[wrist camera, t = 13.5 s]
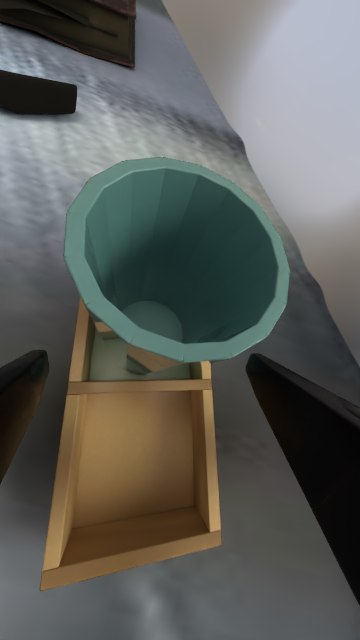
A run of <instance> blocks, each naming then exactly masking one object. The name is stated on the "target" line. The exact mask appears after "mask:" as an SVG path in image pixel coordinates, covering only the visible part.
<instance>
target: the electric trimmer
mask: <svg viewBox="0 0 360 640" xmlns="http://www.w3.org/2000/svg"><path fill="white" fill-rule="evenodd" d="M76 100H77V86H76V85H74V84H68V83H63V82H58V81H53V80H48V79H43V78H38V77H32V76H27V75H22V74H17V73H12V72H8V71H3V70H0V107H6V108H8V109H10V110H11V111H13V112H15V113H17V114H72V113H74V112H75V109H76Z"/></svg>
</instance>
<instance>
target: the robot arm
mask: <svg viewBox="0 0 360 640" xmlns="http://www.w3.org/2000/svg"><path fill="white" fill-rule="evenodd" d="M246 372H247V375H248V377H249V380H250V383H251V385H252V388H253V390H254V393H255V396H256V398H257V400H258V402H259V404H260V406H261V408H262V410H263V412H264V414H265V416H266V418H267V420H268V423H269V425H270V427H271V429H272V431H273V433H274V435H275V437H276V439H277V441H278V443H279V445H280V447H281V449H282V451H283V453H284V455H285V457H286V459H287V461H288V463H289V465H290V467H291V469H292V471H293V473H294V475H295V477H296V479H297V481H298V483H299V485H300V487H301V489H302V491H303V493H304V495H305V497H306V499H307V501H308V503H309V505H310V507H311V509H312V511H313V513H314V515H315V517H316V519H317V521H318V523H319V525H320V527H321V529H322V531H323V533H324V535H325V537H326V539H327V541H328V543H329V545H330V548H331V550H332V552H333V554H334V556H335V558H336V560H337V562H338V564H339V566H340V568H341V570H342V572H343V574H344V576H345V578H346V580H347V582H348V584H349V586H350V588H351V590H352V592H353V594H354V596H355V598H356V600H357V601H358V603H359V605H360V408H359V407H358V406H356V405H354V404H352V403H350V402H348V401H346V400H344V399H343V398H341V397H339V396H336V395H335V394H333V393H331V392H330V391H328V390H326V389H324V388H322V387H320V386H319V385H317V384H315V383H313V382H311V381H309V380H308V379H306V378H304V377H302V376H300V375H298V374H296V373H295V372H293V371H291V370H289V369H287V368H285V367H284V366H282V365H280V364H278V363H276V362H274V361H273V360H271V359H269V358H267V357H265V356H263V355H262V354H258V353H253V354H251V355H250V357H249V360H248V362H247V365H246ZM48 373H49V362H48V356H47V352H46V351H45V350H32V351H30V352H29V353H27V354H25V355H23V356H21V357H19V358H18V359H16V360H14V361H12V362H10V363H8V364H6V365H5V366H3V367H1V368H0V484H1V482H2V480H3V478H4V476H5V474H6V472H7V470H8V467H9V465H10V463H11V461H12V459H13V457H14V455H15V453H16V451H17V449H18V447H19V444H20V442H21V440H22V438H23V436H24V434H25V432H26V430H27V428H28V426H29V424H30V421H31V419H32V417H33V415H34V413H35V411H36V408H37V405H38V403H39V400H40V397H41V394H42V391H43V388H44V385H45V382H46V379H47V376H48Z"/></svg>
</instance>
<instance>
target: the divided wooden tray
mask: <svg viewBox="0 0 360 640" xmlns="http://www.w3.org/2000/svg"><path fill="white" fill-rule="evenodd" d="M211 389H212V386H211V368H210V363H207V364H203V365H198V366H193V367H188V368H183V369H178V370H174V371H169V372H164V373H159V374H149V375H141V374H137V373H134V372H131V371H128V370H127V369H125V368H124V367H122V366H121V365H120V364H119V363H118V362H117V361H116V360H115V359H114V358H113V357H112V355H111V353H110V351H109V349H108V348H107V346H106V344H105V342H104V340H103V338H102V337H101V335H100V333H99V331H98V329H97V327H96V326H95V324H94V322H93V320H92V318H91V316H90V315H89V313H88V311H87V309H86V307H85V305H84V303H83V301H82V299H81V297H80V302H79V310H78V317H77V324H76V331H75V338H74V346H73V353H72V360H71V367H70V374H69V383H68V389H67V394H68V395H67V396H66V403H65V411H64V418H63V425H62V432H61V439H60V447H59V454H58V461H57V468H56V475H55V483H54V490H53V497H52V504H51V511H50V519H49V526H48V533H47V540H46V547H45V555H44V562H43V571H42V576H41V583H40V591H44V590H48V589H52V588H56V587H60V586H64V585H68V584H71V583H75V582H79V581H83V580H87V579H91V578H95V577H99V576H103V575H107V574H111V573H115V572H118V571H122V570H126V569H130V568H134V567H138V566H142V565H146V564H150V563H154V562H158V561H162V560H165V559H169V558H173V557H177V556H181V555H185V554H189V553H193V552H197V551H201V550H205V549H209V548H212V547H216V546H220V545H221V544H222V543H221V525H220V509H219V494H218V478H217V462H216V446H215V430H214V414H213V398H212V390H211Z"/></svg>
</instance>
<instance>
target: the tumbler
mask: <svg viewBox="0 0 360 640" xmlns="http://www.w3.org/2000/svg"><path fill="white" fill-rule="evenodd" d="M63 256H64V261H65V263H66V266H67V268H68V270H69V272H70V274H71V277H72V279H73V281H74V283H75V286H76V288H77V290H78V292H79V294H80V297H81V299H82V301H83V303H84V305H85V307H86V309H87V311H88V313H89V315H90V316H91V318H92V320H93V322H94V324H95V326H96V327H97V329H98V331H99V333H100V335H101V337H102V338H103V340H104V342H105V344H106V346H107V348H108V349H109V351H110V353H111V355H112V357H113V358H114V359H115V360H116V361H117V362H118V363H119V364H120V365H121V366H122V367H124V368H125V369H127V370H128V371H131V372H134V373H137V374H141V375H149V374H159V373H164V372H169V371H174V370H178V369H183V368H188V367H193V366H198V365H203V364H207V363H212V362H217V361H222V360H227V359H230V358H234V357H235V356H237V355H239V354H240V353H242V352H244V351H245V350H247V349H248V348H250V347H252V346H253V345H255V344H257V343H258V342H260V341H262V340H263V339H265V338H266V337H267V336H268V335H269V333H270V332H271V330H272V328H273V327H274V325H275V323H276V322H277V320H278V318H279V317H280V315H281V314H282V312H283V310H284V309H285V307H286V304H287V296H288V285H289V275H290V271H289V270H290V268H289V265H288V261H287V258H286V254H285V251H284V247H283V243H282V240H281V237H280V235H279V234H278V232H277V230H276V229H275V227H274V226H273V224H272V223H271V221H270V220H269V218H268V217H267V215H266V214H265V212H264V211H263V209H262V208H261V207H260V205H259V204H258V203H256V202H255V201H254V200H253V199H252V198H251V197H250V196H249V195H247V194H246V193H245V192H244V191H243V190H242V189H241V188H240V187H238V186H237V185H236V184H235V183H234V182H232V181H231V180H229V179H227V178H225V177H223V176H221V175H219V174H217V173H215V172H213V171H211V170H209V169H207V168H205V167H203V166H201V165H200V166H199V165H198V164H194V163H189V162H185V161H180V160H175V159H170V158H166V157H154V158H145V159H135V160H125V161H122V162H120V163H118V164H116V165H114V166H112V167H110V168H108V169H107V170H105V171H103V172H101V173H99V174H97V175H95V176H93V177H91V178H90V180H88V182H87V183H86V184H85V186H84V187H83V189H82V190H81V192H80V193H79V195H78V196H77V198H76V199H75V200H74V202H73V203H72V205H71V206H70V208H69V209H68V211H67V214H66V225H65V239H64V254H63Z"/></svg>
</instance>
